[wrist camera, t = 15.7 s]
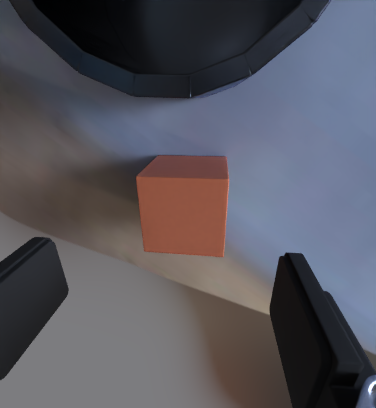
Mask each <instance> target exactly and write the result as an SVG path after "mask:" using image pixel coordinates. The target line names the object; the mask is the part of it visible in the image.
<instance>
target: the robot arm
mask: <svg viewBox="0 0 376 408" xmlns="http://www.w3.org/2000/svg"><path fill="white" fill-rule="evenodd" d="M67 295H68V285H67V282H66V279H65V275H64V272H63V269H62V266H61V262H60V259H59V256H58V252H57V249H56V245H55V243H54V242H52V240H51V239H50V238H44V237H34V238H32V239H31V240H29V241H28V242H27V243H26V244H24V245H23V246H21V247H20V248H19V249H17V250H16V251H15V252H13V253H12V254H11V255H9V256H8V257H7V258H5V259H4V260H3V261H1V262H0V380H2V379H3V378H4V377H5V376H6V375H7V374H8V373H9V371H10V370H11V369H12V368H13V366H14V365H15V364H16V362H17V361H18V360H19V358H20V357H21V356H22V354H23V353H24V352H25V351H26V349H27V348H28V347H29V345H30V344H31V343H32V341H33V340H34V339H35V337H36V336H37V335H38V334H39V332H40V331H41V330H42V328H43V327H44V326H45V324H46V323H47V322H48V320H49V319H50V318H51V317H52V315H53V314H54V313H55V311H56V310H57V309H58V307H59V306H60V305H61V303H62V302H63V301H64V300H65V298H66V297H67ZM270 317H271V321H272V325H273V329H274V333H275V337H276V341H277V345H278V350H279V354H280V358H281V362H282V366H283V370H284V373H285V378H286V382H287V386H288V390H289V394H290V398H291V403H292V407H293V408H376V371H375V369H374V367H373V366H372V364H371V362H370V361H369V359H368V357H367V355H366V354H365V352H364V350H363V349H362V347H361V345H360V343H359V342H358V340H357V338H356V337H355V335H354V333H353V331H352V330H351V328H350V326H349V325H348V323H347V321H346V319H345V318H344V316H343V314H342V313H341V311H340V309H339V307H338V306H337V304H336V302H335V301H334V299H333V297H332V296H331V294H330V293H328V292H327V291H323V290H322V288H321V286H320V284H319V282H318V281H317V279H316V277H315V275H314V273H313V272H312V270H311V268H310V266H309V264H308V262H307V261H306V259H305V257H304V255H303V254H301V253H285V255H284V256H280V257H279V262H278V267H277V272H276V277H275V282H274V287H273V292H272V297H271V303H270Z"/></svg>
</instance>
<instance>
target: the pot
mask: <svg viewBox="0 0 376 408" xmlns="http://www.w3.org/2000/svg"><path fill="white" fill-rule="evenodd" d="M9 1H10V3H11V4H12V6H13V7H14V9H15V10H16V12H17V13H18V15H19V17H20V18H21V20H22V21H23V22H24V23H25V24H26V26H27V27H28V28H29V29H30V30H31V31H32V32H33V33H34V34H36V35H37V36H38V37H39V38H40V39H41V40H42V41H43V42H45V43H46V44H47V45H48V46H49V47H50V48H51V49H52V50H53V51H55V52H56V53H57V54H58V55H59V56H60V57H61V58H62V59H63V60H65V61H66V62H67V63H68V64H69V65H70V66H71V67H72V68H73V69H75V70H76V71H78V72H79V73H80V74H82V75H84V76H87V77H89V78H91V79H94V80H96V81H98V82H101V83H103V84H105V85H107V86H110V87H112V88H114V89H117V90H119V91H121V92H124V93H126V94H128V95H131V96H135V97H163V98H203V97H207V96H210V95H213V94H215V93H218V92H221V91H224V90H226V89H229V88H232V87H234V86H236V85H238V84H240V83H241V82H243V81H244V80H246V79H247V78H249V77H250V76H252V75H253V74H255V73H256V72H257V71H259V70H260V69H261V68H262V67H263V66H265V65H266V64H267V63H268V62H269V61H271V60H272V59H273V58H274V57H276V56H277V55H278V54H279V53H280V52H282V51H283V50H284V49H285V48H286V47H288V46H289V45H290V44H291V43H293V42H294V41H295V40H296V39H297V38H299V37H300V36H301V35H302V34H303V33H305V32H306V31H307V30H308V29H310V28H311V27H312V25H313V24H314V23H315V22H316V21H317V20H318V19H319V17H320V16H321V14H322V13H323V11H324V10H325V9H326V7H327V6H328V4H329V3H330V1H331V0H9Z"/></svg>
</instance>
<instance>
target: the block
mask: <svg viewBox="0 0 376 408" xmlns="http://www.w3.org/2000/svg"><path fill="white" fill-rule="evenodd" d="M136 183H137V192H138V201H139V210H140V219H141V228H142V236H143V245H144V251H145V252H158V253H172V254H186V255H200V256H215V257H224V245H225V231H226V217H227V203H228V189H229V175H228V166H227V157H224V156H174V155H158V156H157V157H156V158H155V159H154V160H153V161H152V162H151V163H149V164H148V165H147V166H146V167H145V168H144V169H143V170H142V171H141V172H140V173H139V174H138V175H137V176H136Z"/></svg>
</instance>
